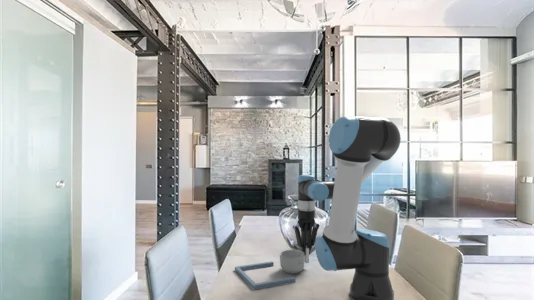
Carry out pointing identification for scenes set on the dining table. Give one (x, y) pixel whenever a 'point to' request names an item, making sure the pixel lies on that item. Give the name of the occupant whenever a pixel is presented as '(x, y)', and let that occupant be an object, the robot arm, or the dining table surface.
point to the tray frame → (263, 284)
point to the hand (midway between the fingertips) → (306, 262)
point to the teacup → (292, 261)
